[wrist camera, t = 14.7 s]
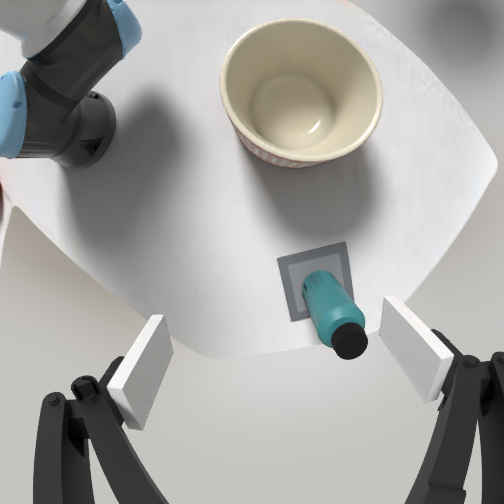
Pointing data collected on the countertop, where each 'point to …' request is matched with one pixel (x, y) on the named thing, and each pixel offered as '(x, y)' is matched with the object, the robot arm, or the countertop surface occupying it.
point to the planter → (300, 92)
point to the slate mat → (305, 264)
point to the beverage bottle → (334, 315)
